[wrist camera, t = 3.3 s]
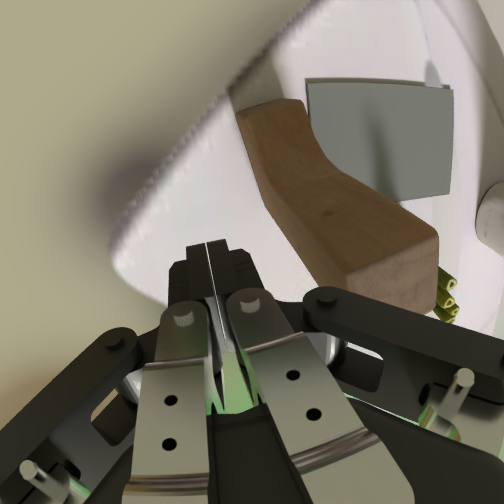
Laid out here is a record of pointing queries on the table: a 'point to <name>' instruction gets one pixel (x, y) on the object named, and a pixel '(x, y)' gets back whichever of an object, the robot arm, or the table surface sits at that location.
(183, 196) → the table surface
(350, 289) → the wooden block
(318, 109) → the mat
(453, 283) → the fennel bulb
